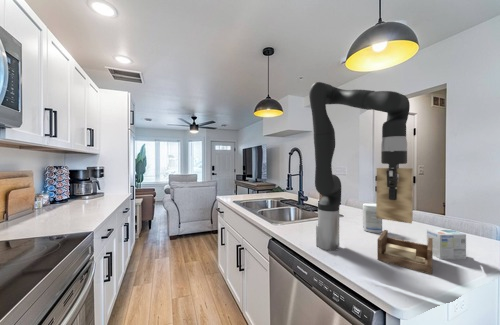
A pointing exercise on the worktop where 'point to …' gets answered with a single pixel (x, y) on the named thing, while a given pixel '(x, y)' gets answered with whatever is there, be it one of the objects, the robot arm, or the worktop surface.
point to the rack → (421, 249)
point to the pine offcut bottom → (418, 259)
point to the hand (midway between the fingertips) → (393, 198)
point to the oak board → (404, 202)
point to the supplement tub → (371, 219)
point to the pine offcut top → (401, 251)
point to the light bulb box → (448, 244)
